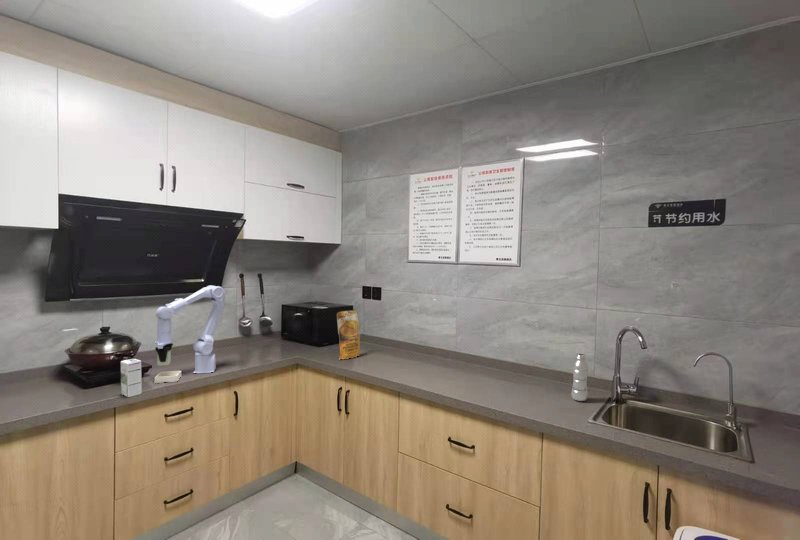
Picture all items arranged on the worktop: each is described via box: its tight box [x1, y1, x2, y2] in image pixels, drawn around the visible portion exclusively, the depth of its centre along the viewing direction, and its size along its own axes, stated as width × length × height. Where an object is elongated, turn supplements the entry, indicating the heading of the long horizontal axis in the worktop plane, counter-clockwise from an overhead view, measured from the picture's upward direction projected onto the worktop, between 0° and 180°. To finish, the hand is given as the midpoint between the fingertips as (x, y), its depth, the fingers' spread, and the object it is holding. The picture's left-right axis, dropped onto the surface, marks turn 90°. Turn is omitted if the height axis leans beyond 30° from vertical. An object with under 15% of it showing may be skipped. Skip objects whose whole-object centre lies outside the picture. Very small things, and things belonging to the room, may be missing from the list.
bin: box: [154, 370, 182, 384], centre depth 191 cm, size 9×9×3 cm
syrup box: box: [120, 358, 143, 398], centre depth 171 cm, size 6×6×14 cm
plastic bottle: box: [570, 353, 589, 402], centre depth 175 cm, size 6×7×20 cm
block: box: [156, 349, 172, 366], centre depth 192 cm, size 4×4×6 cm
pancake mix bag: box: [336, 309, 361, 361], centre depth 240 cm, size 7×19×28 cm, turn 139°
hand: (164, 360), depth 193 cm, fingers closed on block, 4 cm apart
